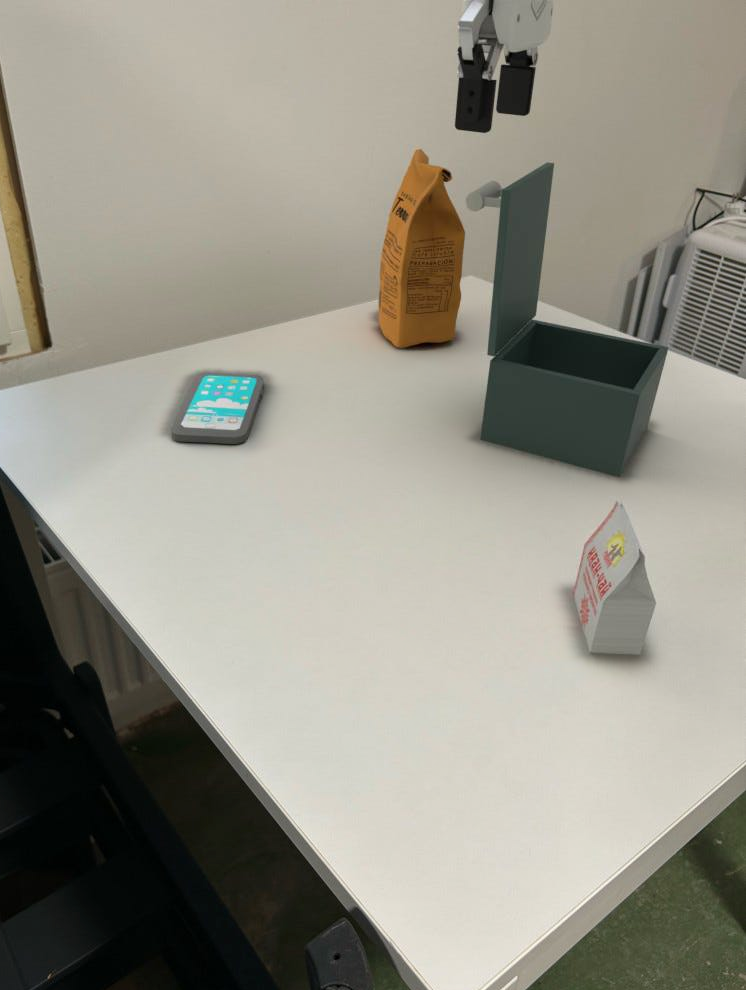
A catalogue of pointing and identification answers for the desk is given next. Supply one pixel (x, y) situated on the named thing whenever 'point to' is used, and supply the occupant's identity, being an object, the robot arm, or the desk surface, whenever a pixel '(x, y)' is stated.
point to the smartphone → (218, 408)
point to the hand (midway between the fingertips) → (493, 122)
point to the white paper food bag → (614, 588)
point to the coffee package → (421, 259)
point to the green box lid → (516, 250)
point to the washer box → (572, 395)
